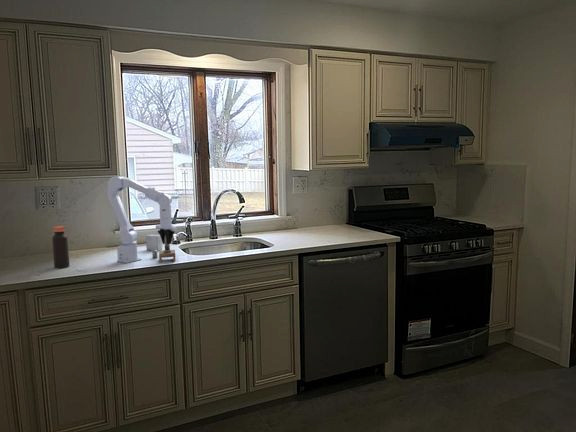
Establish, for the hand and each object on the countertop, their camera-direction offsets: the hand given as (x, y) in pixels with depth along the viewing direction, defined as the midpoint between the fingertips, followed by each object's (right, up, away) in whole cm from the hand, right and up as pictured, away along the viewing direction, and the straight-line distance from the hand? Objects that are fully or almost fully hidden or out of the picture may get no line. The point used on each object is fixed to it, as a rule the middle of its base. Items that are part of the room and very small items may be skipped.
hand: (166, 243), depth 244 cm
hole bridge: (0, -9, +1) cm, 9 cm away
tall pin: (0, -3, +1) cm, 3 cm away
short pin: (-8, -8, +7) cm, 13 cm away
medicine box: (-15, -6, +29) cm, 33 cm away
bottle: (-49, -11, -12) cm, 51 cm away
